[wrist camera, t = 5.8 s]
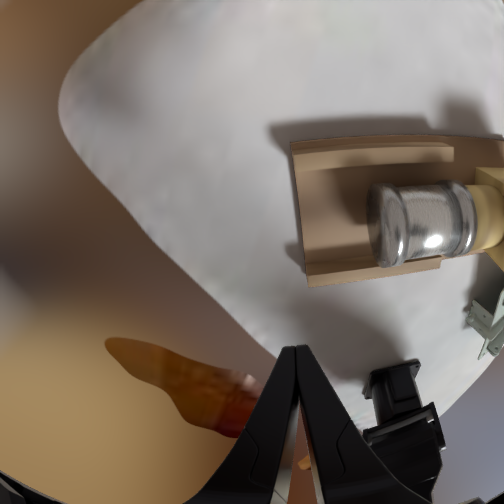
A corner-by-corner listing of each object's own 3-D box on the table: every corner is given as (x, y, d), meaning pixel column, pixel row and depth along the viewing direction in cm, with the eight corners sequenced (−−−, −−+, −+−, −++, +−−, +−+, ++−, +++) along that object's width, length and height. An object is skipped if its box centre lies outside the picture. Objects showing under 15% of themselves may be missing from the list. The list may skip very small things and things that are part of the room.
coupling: (435, 233, 18) (468, 270, 14) (365, 241, 19) (388, 285, 14) (441, 169, 15) (483, 196, 11) (365, 173, 16) (395, 203, 12)
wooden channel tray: (489, 247, 18) (532, 296, 12) (306, 275, 21) (316, 349, 15) (504, 140, 13) (566, 170, 7) (290, 142, 16) (302, 173, 10)
